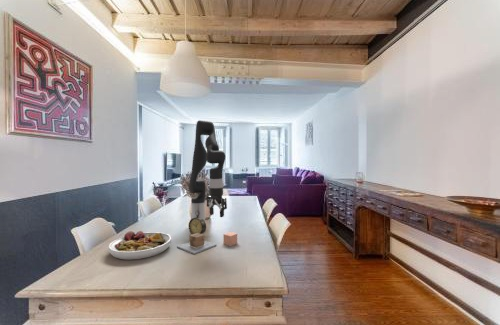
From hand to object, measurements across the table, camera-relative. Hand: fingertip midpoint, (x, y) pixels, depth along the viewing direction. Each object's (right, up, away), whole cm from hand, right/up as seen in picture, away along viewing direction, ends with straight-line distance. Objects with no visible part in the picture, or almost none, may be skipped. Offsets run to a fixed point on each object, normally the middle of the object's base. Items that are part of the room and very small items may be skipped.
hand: (216, 215), depth 133 cm
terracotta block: (+7, -16, +3) cm, 18 cm away
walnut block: (-10, -16, -2) cm, 19 cm away
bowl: (-39, -17, -6) cm, 43 cm away
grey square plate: (-11, -17, -2) cm, 20 cm away
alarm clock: (-14, -16, +15) cm, 26 cm away
